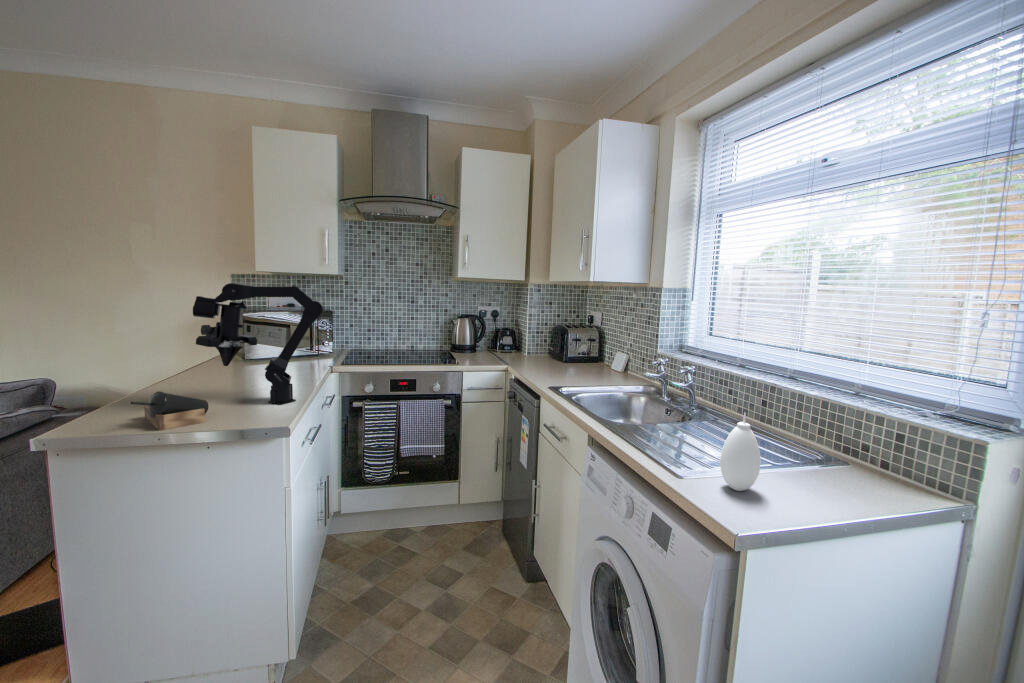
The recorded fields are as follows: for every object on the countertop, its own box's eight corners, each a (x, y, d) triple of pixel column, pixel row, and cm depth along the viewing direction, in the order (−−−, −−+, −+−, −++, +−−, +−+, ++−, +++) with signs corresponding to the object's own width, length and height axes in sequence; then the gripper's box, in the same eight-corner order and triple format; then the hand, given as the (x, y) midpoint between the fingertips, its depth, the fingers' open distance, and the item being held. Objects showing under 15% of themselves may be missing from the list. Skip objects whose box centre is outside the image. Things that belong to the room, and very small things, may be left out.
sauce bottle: (711, 481, 105) (718, 406, 102) (744, 481, 105) (751, 407, 103) (729, 497, 97) (737, 416, 95) (764, 497, 97) (773, 417, 95)
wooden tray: (188, 411, 145) (188, 399, 144) (205, 422, 135) (204, 409, 135) (145, 419, 136) (144, 406, 136) (159, 430, 126) (158, 416, 126)
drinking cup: (212, 393, 141) (141, 386, 123) (211, 417, 139) (138, 414, 121) (195, 397, 144) (123, 391, 126) (194, 421, 142) (121, 418, 124)
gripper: (236, 317, 162) (231, 360, 163) (185, 316, 144) (180, 363, 145) (260, 322, 158) (255, 365, 160) (211, 321, 141) (206, 370, 142)
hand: (225, 365), depth 152 cm, fingers closed
